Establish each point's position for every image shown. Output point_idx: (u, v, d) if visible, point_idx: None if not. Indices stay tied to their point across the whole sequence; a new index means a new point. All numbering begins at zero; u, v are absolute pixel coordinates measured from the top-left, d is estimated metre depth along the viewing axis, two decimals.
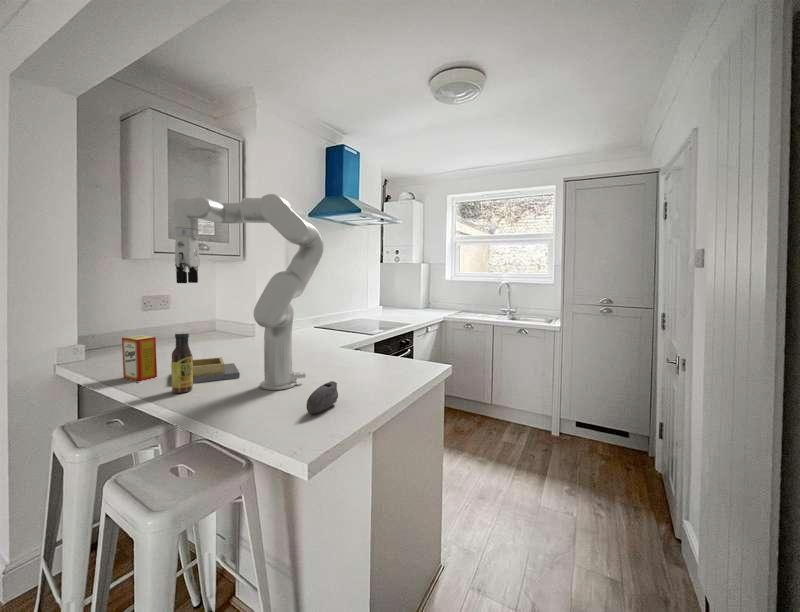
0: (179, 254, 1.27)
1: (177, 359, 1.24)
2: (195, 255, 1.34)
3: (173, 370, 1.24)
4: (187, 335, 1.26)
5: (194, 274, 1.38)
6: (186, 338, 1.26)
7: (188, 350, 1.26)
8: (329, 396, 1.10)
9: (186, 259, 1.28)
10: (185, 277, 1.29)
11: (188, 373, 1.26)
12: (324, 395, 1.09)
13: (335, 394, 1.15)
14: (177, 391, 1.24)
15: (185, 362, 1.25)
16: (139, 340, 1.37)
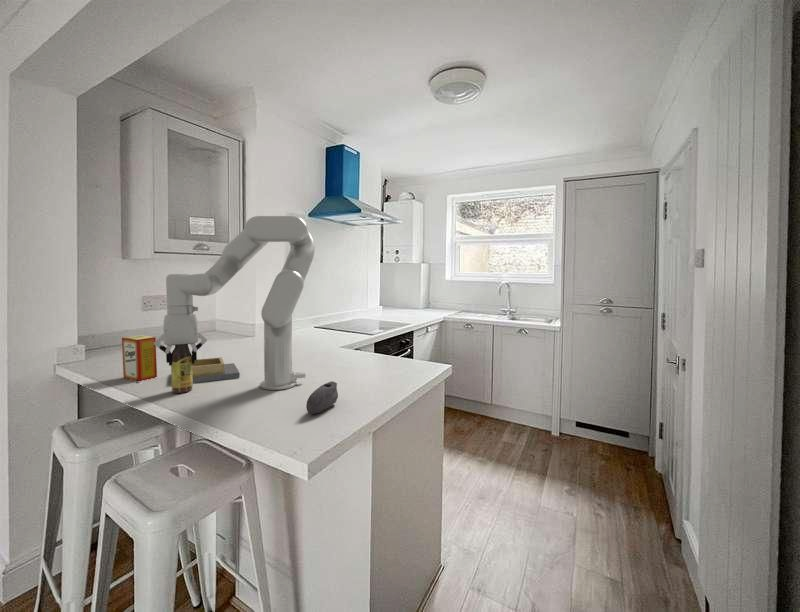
0: (199, 333, 1.29)
1: (176, 359, 1.24)
2: None
3: (173, 370, 1.24)
4: None
5: None
6: None
7: (187, 350, 1.26)
8: (329, 396, 1.10)
9: None
10: None
11: (188, 373, 1.26)
12: (324, 395, 1.09)
13: (335, 394, 1.15)
14: (177, 391, 1.24)
15: (184, 362, 1.25)
16: (139, 340, 1.37)
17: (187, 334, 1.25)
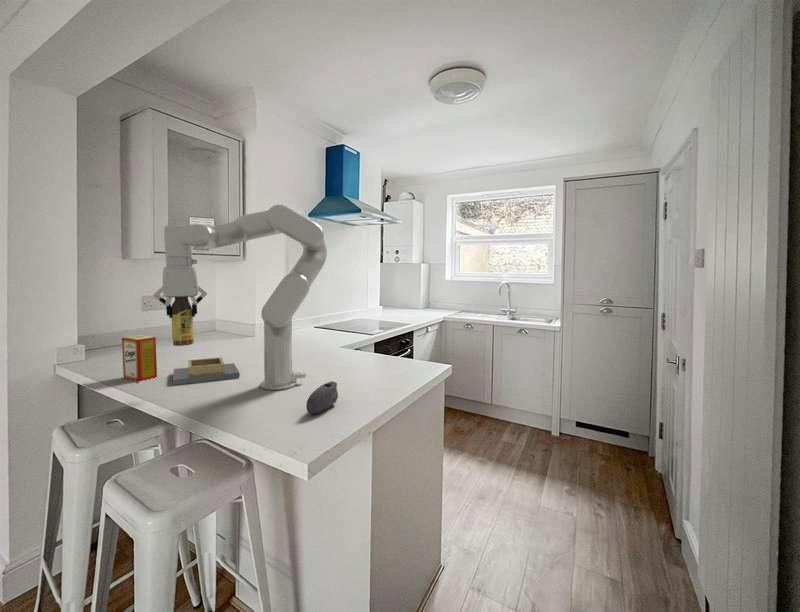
0: None
1: (177, 312, 1.23)
2: None
3: (173, 323, 1.23)
4: None
5: None
6: None
7: (188, 303, 1.25)
8: (329, 396, 1.10)
9: None
10: None
11: (189, 326, 1.25)
12: (324, 395, 1.09)
13: (335, 394, 1.15)
14: (178, 344, 1.23)
15: (185, 315, 1.24)
16: (139, 340, 1.37)
17: (187, 286, 1.24)
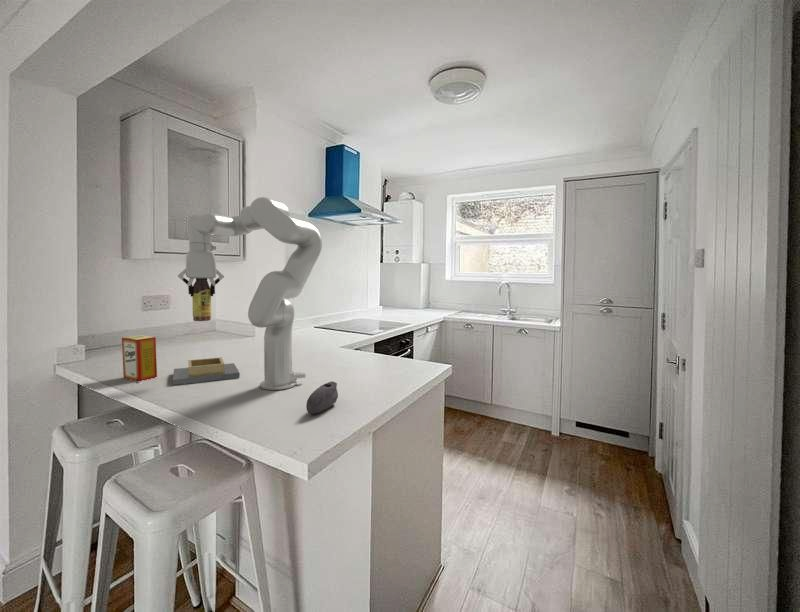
0: (217, 270, 1.45)
1: (198, 291, 1.40)
2: None
3: (194, 300, 1.40)
4: None
5: None
6: None
7: (207, 284, 1.42)
8: (328, 396, 1.10)
9: None
10: None
11: (207, 304, 1.42)
12: (324, 395, 1.09)
13: (335, 394, 1.15)
14: (198, 319, 1.40)
15: (204, 294, 1.41)
16: (139, 340, 1.37)
17: (207, 269, 1.41)
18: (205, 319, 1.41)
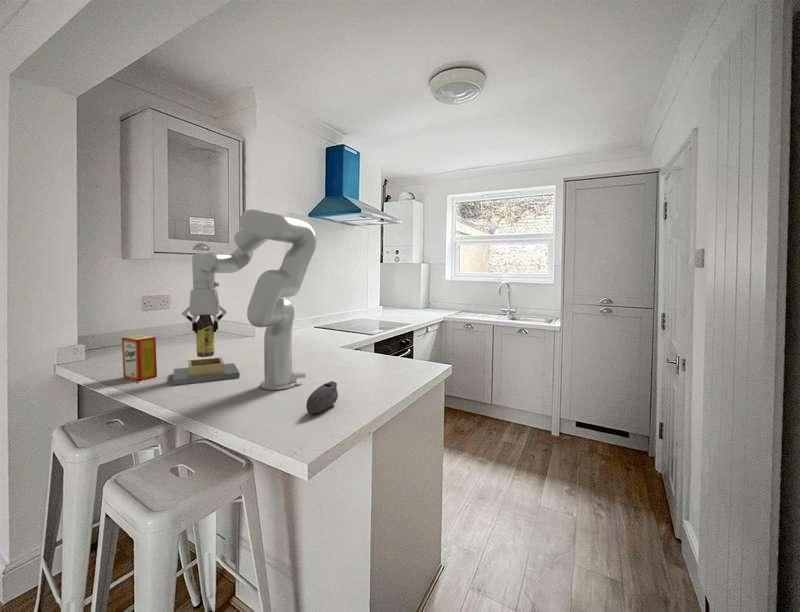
0: (220, 306, 1.47)
1: (201, 328, 1.43)
2: None
3: (198, 337, 1.43)
4: None
5: None
6: None
7: (210, 320, 1.45)
8: (328, 396, 1.10)
9: None
10: None
11: (211, 340, 1.45)
12: (324, 395, 1.09)
13: (335, 394, 1.15)
14: (201, 355, 1.43)
15: (208, 330, 1.44)
16: (139, 340, 1.37)
17: (210, 306, 1.44)
18: (208, 355, 1.44)
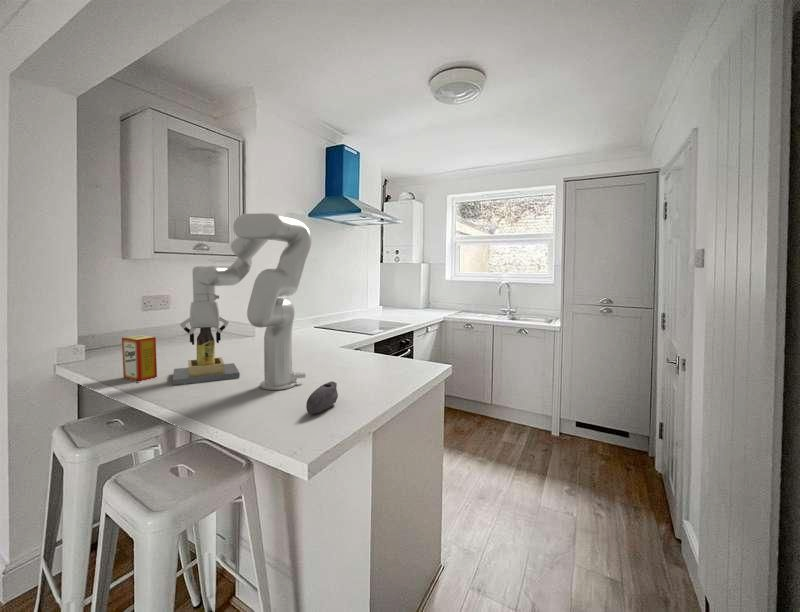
0: None
1: (201, 343, 1.43)
2: None
3: (198, 352, 1.43)
4: None
5: None
6: None
7: (211, 335, 1.46)
8: (328, 396, 1.10)
9: None
10: None
11: (211, 355, 1.45)
12: (324, 395, 1.09)
13: (335, 394, 1.15)
14: None
15: (208, 345, 1.44)
16: (139, 340, 1.37)
17: (210, 319, 1.44)
18: None
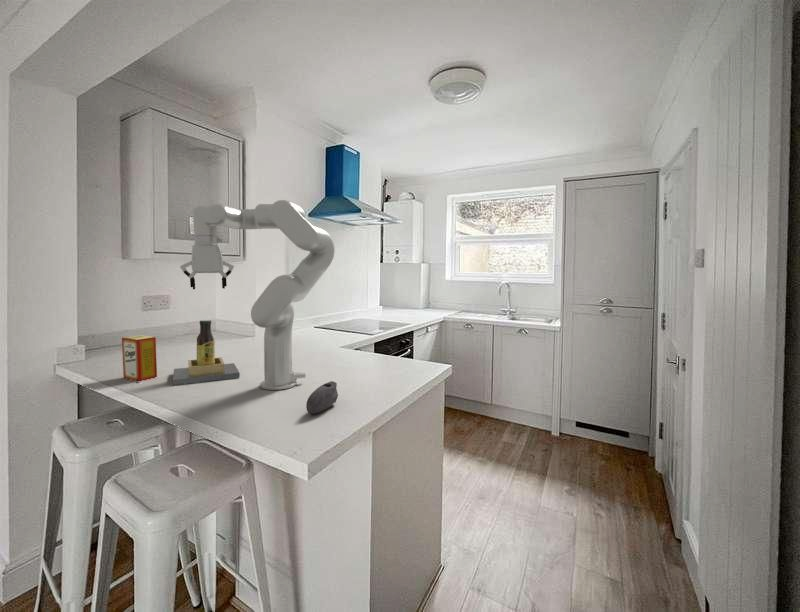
0: (225, 262, 1.39)
1: (201, 343, 1.43)
2: None
3: (198, 352, 1.43)
4: (210, 322, 1.46)
5: None
6: (209, 325, 1.45)
7: (211, 335, 1.46)
8: (328, 396, 1.10)
9: None
10: None
11: (211, 355, 1.45)
12: (324, 395, 1.09)
13: (335, 394, 1.15)
14: None
15: (208, 346, 1.44)
16: (139, 340, 1.37)
17: (213, 262, 1.35)
18: None
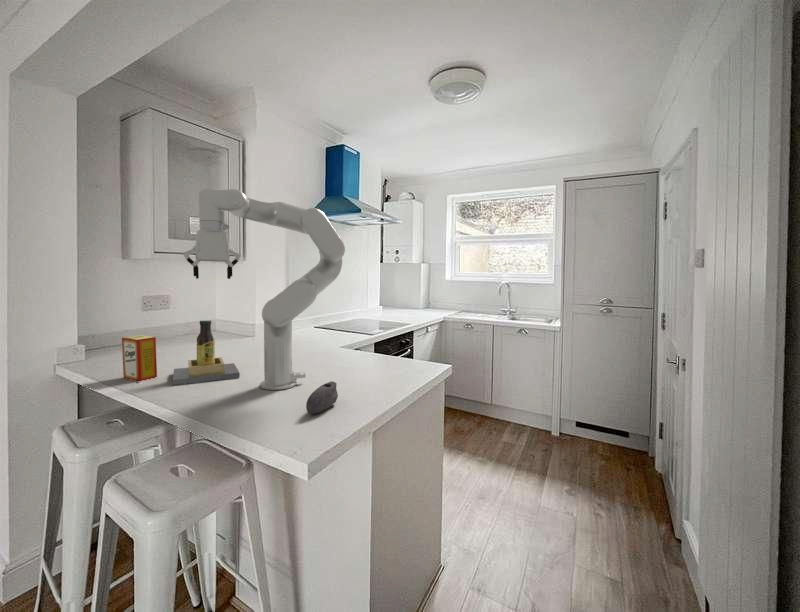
0: (231, 250, 1.29)
1: (201, 343, 1.43)
2: None
3: (198, 352, 1.43)
4: (210, 322, 1.46)
5: None
6: (209, 325, 1.45)
7: (211, 335, 1.46)
8: (328, 396, 1.10)
9: None
10: None
11: (211, 355, 1.45)
12: (324, 395, 1.09)
13: (335, 394, 1.15)
14: None
15: (208, 346, 1.44)
16: (139, 340, 1.37)
17: (219, 250, 1.25)
18: None
